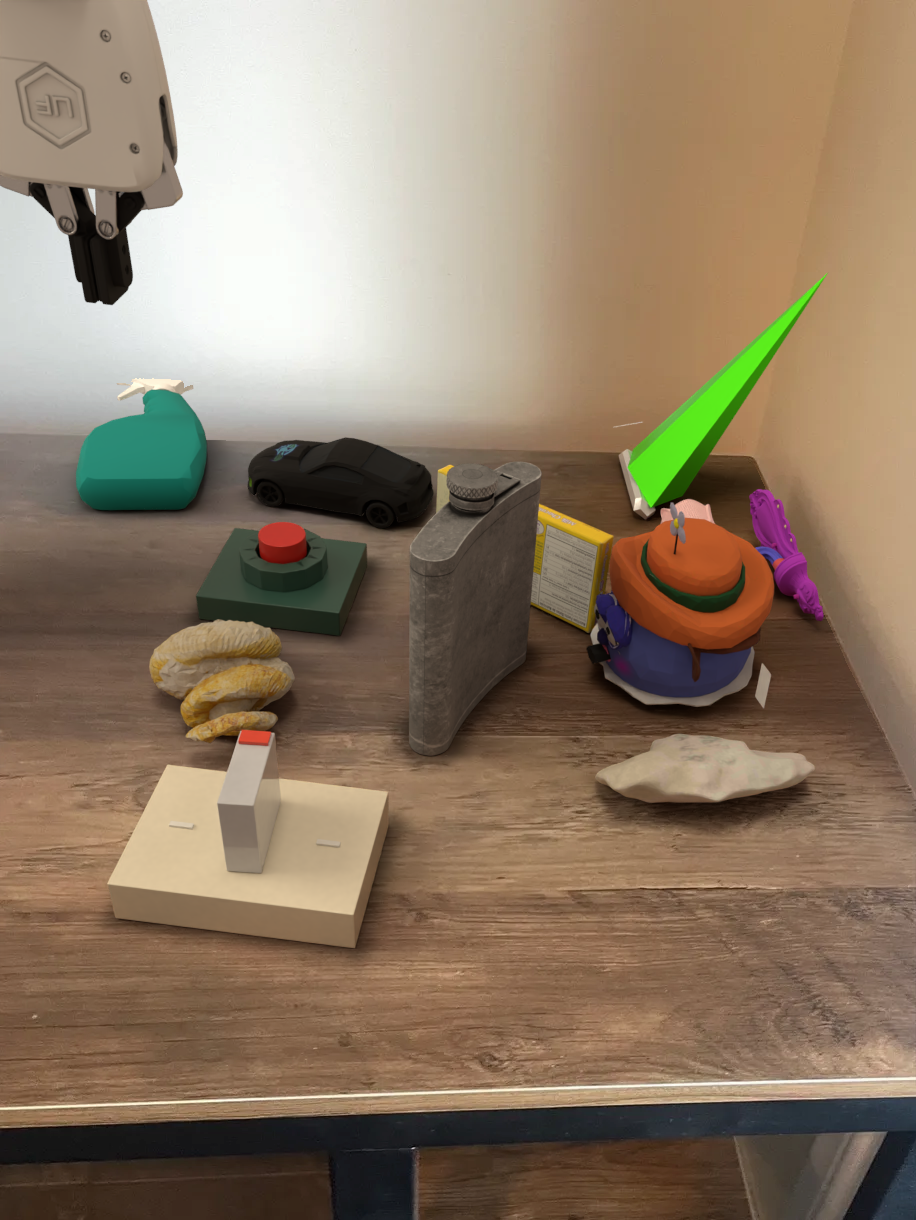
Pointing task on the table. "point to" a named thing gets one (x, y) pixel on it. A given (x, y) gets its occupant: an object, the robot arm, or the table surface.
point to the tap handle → (249, 801)
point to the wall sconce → (769, 545)
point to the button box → (284, 585)
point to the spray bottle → (145, 453)
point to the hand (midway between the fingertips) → (107, 295)
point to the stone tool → (703, 771)
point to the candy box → (562, 563)
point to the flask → (469, 596)
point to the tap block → (292, 873)
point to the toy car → (342, 479)
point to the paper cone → (701, 421)
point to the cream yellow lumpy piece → (222, 676)
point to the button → (282, 543)
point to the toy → (683, 614)
